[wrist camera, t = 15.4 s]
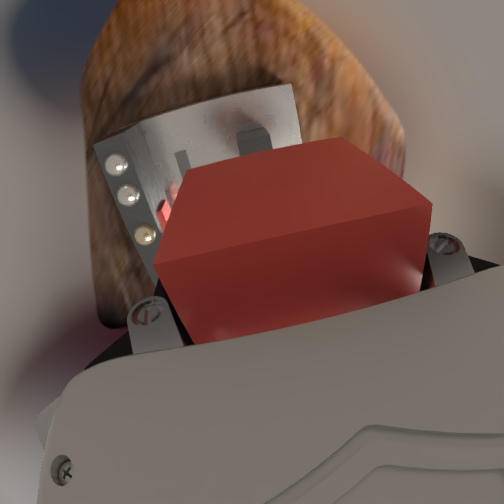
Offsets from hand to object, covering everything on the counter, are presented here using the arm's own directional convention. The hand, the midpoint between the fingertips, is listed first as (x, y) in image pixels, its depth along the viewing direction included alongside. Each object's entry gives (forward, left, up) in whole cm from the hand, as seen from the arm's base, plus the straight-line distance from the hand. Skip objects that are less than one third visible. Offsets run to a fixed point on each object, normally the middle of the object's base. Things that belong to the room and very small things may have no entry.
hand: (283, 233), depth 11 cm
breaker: (0, 0, -14) cm, 14 cm away
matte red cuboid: (0, 0, -1) cm, 1 cm away
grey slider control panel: (-5, +3, -18) cm, 18 cm away
